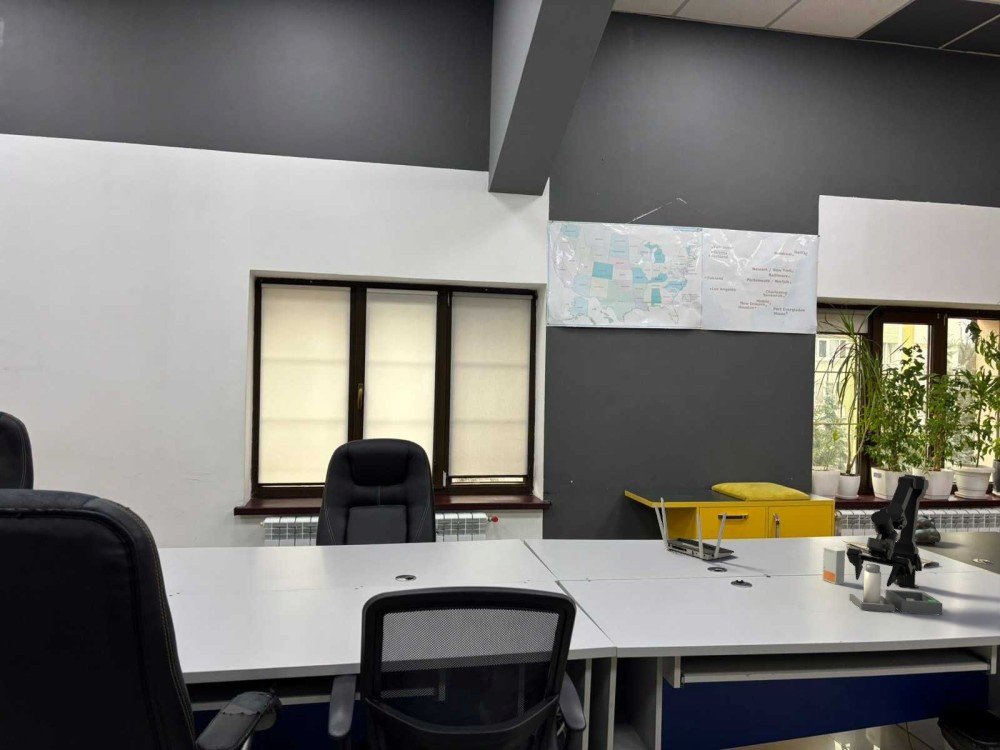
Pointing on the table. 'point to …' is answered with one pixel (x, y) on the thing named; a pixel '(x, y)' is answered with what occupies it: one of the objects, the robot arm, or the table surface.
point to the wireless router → (691, 545)
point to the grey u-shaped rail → (873, 604)
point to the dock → (914, 602)
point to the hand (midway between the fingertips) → (871, 582)
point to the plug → (872, 584)
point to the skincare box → (833, 565)
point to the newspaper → (865, 549)
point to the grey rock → (926, 531)
